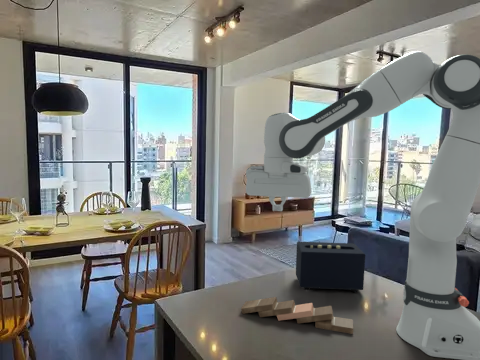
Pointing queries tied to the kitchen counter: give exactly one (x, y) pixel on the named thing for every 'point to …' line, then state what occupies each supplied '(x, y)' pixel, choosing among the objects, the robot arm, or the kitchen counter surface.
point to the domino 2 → (279, 309)
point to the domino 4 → (318, 315)
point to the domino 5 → (336, 324)
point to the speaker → (330, 266)
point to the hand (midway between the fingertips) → (277, 210)
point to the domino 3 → (298, 312)
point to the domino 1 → (259, 305)
